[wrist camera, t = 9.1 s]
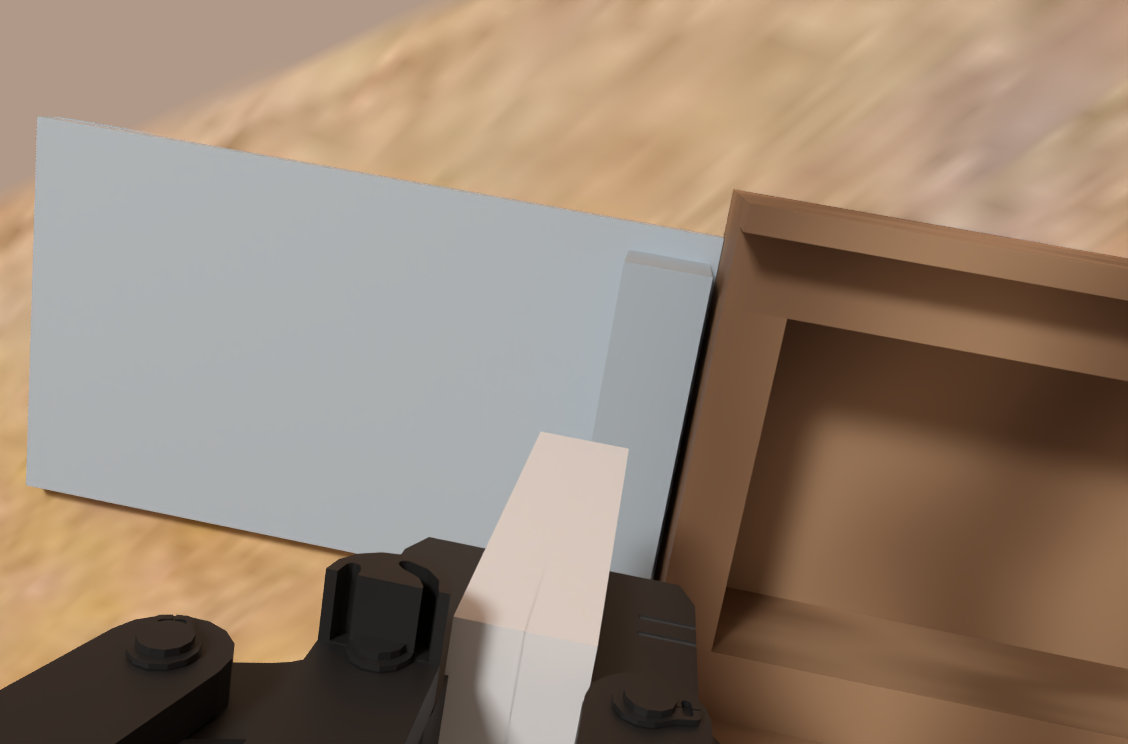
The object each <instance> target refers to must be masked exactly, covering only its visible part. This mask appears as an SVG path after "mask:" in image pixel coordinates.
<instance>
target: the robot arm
mask: <svg viewBox="0 0 1128 744" xmlns="http://www.w3.org/2000/svg"><path fill="white" fill-rule="evenodd" d="M628 451H629V449H628V448H623V447H618V446H613V445H607V444H602V443H597V442H592V441H587V440H582V439H577V438H572V437H566V436H561V435H556V434H551V433H546V432H540V434H539V436H538V438H537V441H536V443H535V445H534V447H533V449H532V451H531V453H530V455H529V457H528V460H527V462H526V464H525V466H524V468H523V470H522V472H521V474H520V477H519V479H518V481H517V483H516V485H515V487H514V489H513V491H512V494H511V496H510V498H509V500H508V502H507V504H506V506H505V508H504V510H503V513H502V515H501V517H500V519H499V521H498V523H497V525H496V527H495V530H494V532H493V534H492V536H491V538H490V540H489V542H488V544H487V547H486V548H481V547H476V546H471V545H466V544H461V543H457V542H452V541H447V540H442V539H437V538H432V537H428V538H426V539H424V540H422V541H420V542H418V543H416V544H414V545H412V546H410V547H408V548H406V549H404V551H403V552H402V554H393V553H385V552H376V553H360V554H355V555H352V556H349V557H345V558H342V559H339V560H337V561H336V562H334V563H333V564H332V565H330V566H329V567H327V568H326V574H325V583H324V592H323V600H322V609H321V617H320V626H319V635H318V640H317V642H316V643H315V644H314V646H313V647H312V649H311V650H310V651H309V653H308V654H307V655H306V657H305V658H304V660H299V661H294V662H283V663H235V662H233V655H234V642H233V641H232V639H231V638H230V636H229V634H228V633H227V631H225V630H223V629H222V628H220V627H218V626H216V625H215V624H213V623H211V622H209V621H205V620H201V619H196V618H192V617H189V616H183V615H176V616H173V615H158V616H155V617H149V618H143V619H136V620H133V621H130V622H128V623H125V624H123V625H120V626H117V627H115V628H112V629H110V630H109V631H107V632H105V633H103V634H101V635H100V636H98V637H96V638H94V639H92V640H90V641H89V642H87V643H85V644H83V645H81V646H79V647H78V648H76V649H74V650H72V651H70V652H69V653H67V654H65V655H63V656H61V657H59V658H58V659H56V660H54V661H52V662H50V663H49V664H47V665H45V666H43V667H41V668H39V669H38V670H36V671H34V672H32V673H30V674H28V675H27V676H25V677H23V678H21V679H19V680H18V681H16V682H14V683H12V684H10V685H8V686H7V687H5V688H3V689H1V690H0V744H720V743H719V742H718V741H717V740H716V739H715V738H714V737H713V736H712V723H711V720H710V717H709V715H708V712H707V709H706V707H705V706H704V705H703V704H702V703H701V702H700V701H699V699H698V673H697V647H696V630H695V627H696V619H695V605H694V604H693V603H692V601H691V600H690V599H689V597H688V596H687V595H686V593H685V592H684V591H683V589H682V588H681V587H680V586H679V585H675V584H670V583H666V582H661V581H656V580H651V579H646V578H641V577H636V576H631V575H627V574H622V573H617V572H612V571H610V565H611V559H612V552H613V546H614V540H615V533H616V527H617V521H618V515H619V508H620V502H621V496H622V489H623V483H624V477H625V470H626V464H627V458H628Z"/></svg>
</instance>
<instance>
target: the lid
mask: <svg viewBox="0 0 1128 744" xmlns="http://www.w3.org/2000/svg"><path fill="white" fill-rule="evenodd" d="M723 241H724V238H723V237H722V236H717V235H711V234H705V233H700V232H694V231H689V230H683V229H677V228H672V227H666V226H660V225H655V224H649V223H644V222H638V221H632V220H627V219H621V218H616V217H610V216H604V215H599V214H593V213H588V212H582V211H576V210H571V209H565V208H560V207H554V206H548V205H543V204H537V203H531V202H526V201H520V200H515V199H509V198H503V197H498V196H492V195H487V194H481V193H475V192H470V191H464V190H459V189H453V188H447V187H442V186H436V185H431V184H425V183H419V182H414V181H408V180H402V179H397V178H391V177H386V176H380V175H374V174H369V173H363V172H358V171H352V170H346V169H341V168H335V167H330V166H324V165H318V164H313V163H307V162H302V161H296V160H290V159H285V158H279V157H274V156H268V155H262V154H257V153H251V152H245V151H240V150H234V149H229V148H223V147H217V146H212V145H206V144H201V143H195V142H189V141H184V140H178V139H173V138H167V137H161V136H156V135H150V134H145V133H143V131H138V130H132V129H126V128H121V127H115V126H110V125H104V124H98V123H93V122H87V121H81V120H76V119H70V118H65V117H40V116H37V145H36V178H35V210H34V243H33V276H32V309H31V342H30V375H29V408H28V440H27V473H26V485H27V486H32V487H37V488H42V489H47V490H51V491H56V492H61V493H66V494H71V495H76V496H80V497H85V498H90V499H95V500H100V501H105V502H110V503H114V504H119V505H124V506H129V507H134V508H139V509H143V510H148V511H153V512H158V513H163V514H168V515H172V516H177V517H182V518H187V519H192V520H197V521H201V522H206V523H211V524H216V525H221V526H226V527H231V528H235V529H240V530H245V531H250V532H255V533H260V534H264V535H269V536H274V537H279V538H284V539H289V540H293V541H298V542H303V543H308V544H313V545H318V546H322V547H327V548H332V549H337V550H342V551H347V552H352V553H356V554H360V553H376V552H385V553H393V554H402V552H403V551H404V549H406V548H408V547H410V546H412V545H414V544H416V543H418V542H420V541H422V540H424V539H426V538H428V537H432V538H437V539H442V540H447V541H452V542H457V543H461V544H466V545H471V546H476V547H481V548H486V547H487V544H488V542H489V540H490V538H491V536H492V534H493V532H494V530H495V527H496V525H497V523H498V521H499V519H500V517H501V515H502V513H503V510H504V508H505V506H506V504H507V502H508V500H509V498H510V496H511V494H512V491H513V489H514V487H515V485H516V483H517V481H518V479H519V477H520V474H521V472H522V470H523V468H524V466H525V464H526V462H527V460H528V457H529V455H530V453H531V451H532V449H533V447H534V445H535V443H536V441H537V438H538V436H539V434H540V432H546V433H551V434H556V435H561V436H566V437H572V438H577V439H582V440H587V441H592V442H597V443H602V444H607V445H613V446H618V447H623V448H628V449H629V451H628V458H627V464H626V470H625V477H624V483H623V489H622V496H621V502H620V508H619V515H618V521H617V527H616V533H615V540H614V546H613V552H612V559H611V565H610V571H612V572H617V573H622V574H627V575H631V576H636V577H641V578H646V579H651V580H653V579H654V574H655V570H656V565H657V560H658V555H659V550H660V545H661V541H662V536H663V531H664V526H665V521H666V516H667V512H668V507H669V502H670V497H671V492H672V487H673V483H674V478H675V473H676V468H677V463H678V458H679V454H680V449H681V444H682V439H683V434H684V429H685V425H686V420H687V415H688V410H689V405H690V400H691V396H692V391H693V386H694V381H695V376H696V371H697V367H698V362H699V357H700V352H701V347H702V342H703V338H704V333H705V328H706V323H707V318H708V313H709V309H710V304H711V299H712V294H713V289H714V284H715V280H716V275H717V270H718V265H719V260H720V255H721V251H722V246H723Z"/></svg>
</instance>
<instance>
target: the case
mask: <svg viewBox="0 0 1128 744" xmlns="http://www.w3.org/2000/svg"><path fill="white" fill-rule="evenodd" d="M653 580H656V581H661V582H666V583H670V584H675V585H679V586H680V587H681V588H682V589H683V591H684V592H685V593H686V595H687V596H688V597H689V599H690V600H691V601H692V603H693V604H694V605H695V619H696V627H695V630H696V647H697V673H698V699H699V701H700V702H701V703H702V704H703V705H704V706H705V707H706V709H707V712H708V715H709V717H710V720H711V723H712V736H713V737H714V738H715V739H716V740H717V741H718V742H719V743H720V744H1128V259H1127V258H1122V257H1116V256H1110V255H1105V254H1099V253H1093V252H1088V251H1082V250H1076V249H1070V248H1065V247H1059V246H1053V245H1048V244H1042V243H1036V242H1030V241H1025V240H1019V239H1013V238H1008V237H1002V236H996V235H991V234H985V233H979V232H973V231H968V230H962V229H956V228H951V227H945V226H939V225H934V224H928V223H922V222H916V221H911V220H905V219H899V218H894V217H888V216H882V215H876V214H871V213H865V212H859V211H854V210H848V209H842V208H837V207H831V206H825V205H819V204H814V203H808V202H802V201H797V200H791V199H785V198H780V197H774V196H768V195H762V194H757V193H751V192H745V191H740V190H733V195H732V200H731V204H730V209H729V214H728V219H727V224H726V228H725V233H724V241H723V246H722V251H721V255H720V260H719V265H718V270H717V275H716V280H715V284H714V289H713V294H712V299H711V304H710V309H709V313H708V318H707V323H706V328H705V333H704V338H703V342H702V347H701V352H700V357H699V362H698V367H697V371H696V376H695V381H694V386H693V391H692V396H691V400H690V405H689V410H688V415H687V420H686V425H685V429H684V434H683V439H682V444H681V449H680V454H679V458H678V463H677V468H676V473H675V478H674V483H673V487H672V492H671V497H670V502H669V507H668V512H667V516H666V521H665V526H664V531H663V536H662V541H661V545H660V550H659V555H658V560H657V565H656V570H655V574H654V579H653Z"/></svg>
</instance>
